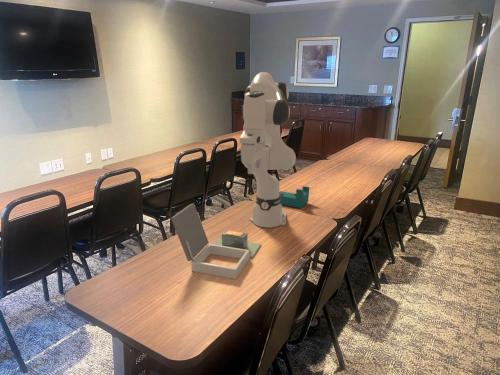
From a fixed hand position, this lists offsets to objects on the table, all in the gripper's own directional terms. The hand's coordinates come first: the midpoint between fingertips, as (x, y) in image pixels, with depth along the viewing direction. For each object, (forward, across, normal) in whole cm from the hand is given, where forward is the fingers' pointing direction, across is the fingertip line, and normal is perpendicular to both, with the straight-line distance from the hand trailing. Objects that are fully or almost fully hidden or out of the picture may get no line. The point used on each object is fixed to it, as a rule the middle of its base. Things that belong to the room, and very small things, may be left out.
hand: (254, 170), depth 139 cm
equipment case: (+36, +14, -10) cm, 40 cm away
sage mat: (+36, -1, -9) cm, 37 cm away
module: (+35, -1, -9) cm, 36 cm away
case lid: (+23, +14, -21) cm, 34 cm away
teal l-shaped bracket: (+36, -65, +2) cm, 74 cm away
